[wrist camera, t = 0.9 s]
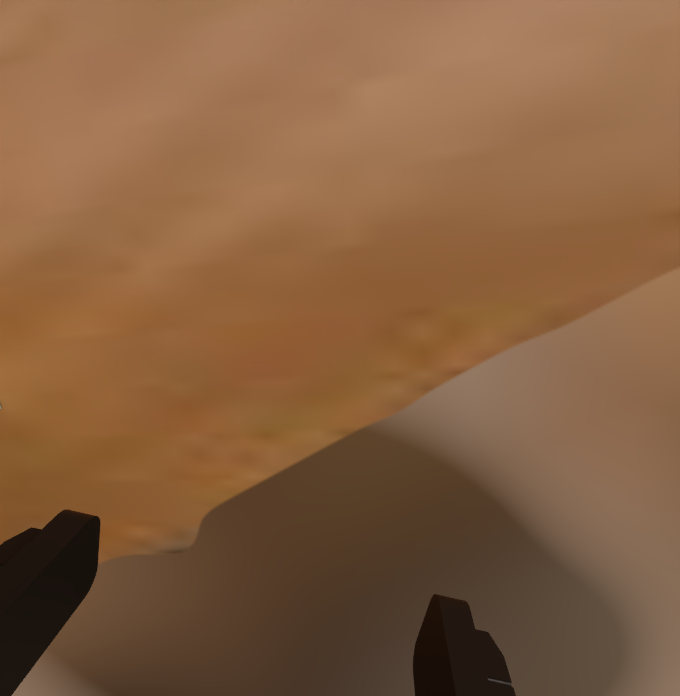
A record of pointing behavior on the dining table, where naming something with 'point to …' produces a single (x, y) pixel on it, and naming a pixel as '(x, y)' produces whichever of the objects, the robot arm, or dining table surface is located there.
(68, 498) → the dining table surface
